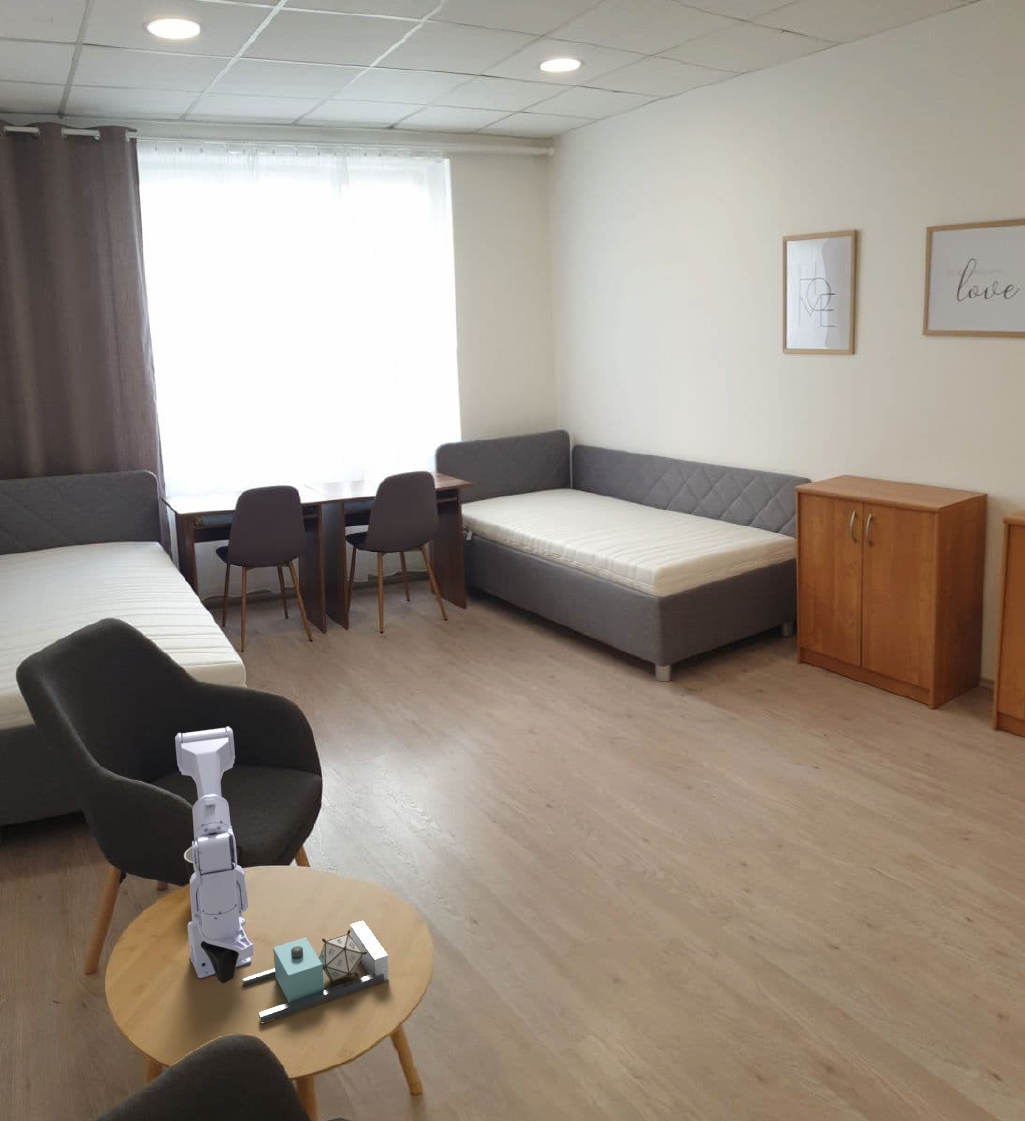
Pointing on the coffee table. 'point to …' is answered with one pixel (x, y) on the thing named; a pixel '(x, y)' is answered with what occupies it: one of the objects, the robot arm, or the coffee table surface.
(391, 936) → the coffee table surface
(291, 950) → the block
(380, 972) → the press frame
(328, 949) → the game die
